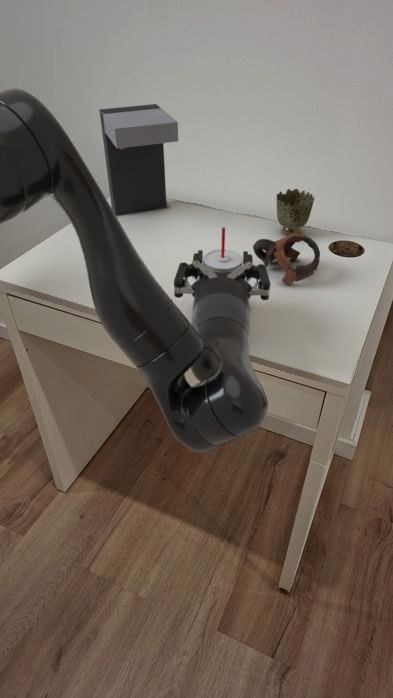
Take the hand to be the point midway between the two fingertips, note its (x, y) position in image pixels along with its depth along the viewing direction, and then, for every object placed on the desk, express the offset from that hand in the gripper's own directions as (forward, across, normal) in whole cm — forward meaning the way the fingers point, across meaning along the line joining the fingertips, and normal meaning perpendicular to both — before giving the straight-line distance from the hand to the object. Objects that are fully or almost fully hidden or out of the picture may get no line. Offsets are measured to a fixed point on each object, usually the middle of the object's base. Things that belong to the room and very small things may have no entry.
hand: (222, 256), depth 76 cm
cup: (+26, -14, +9) cm, 31 cm away
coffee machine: (+32, +17, +9) cm, 38 cm away
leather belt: (+10, -11, +9) cm, 17 cm away
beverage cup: (-2, 0, +8) cm, 9 cm away
